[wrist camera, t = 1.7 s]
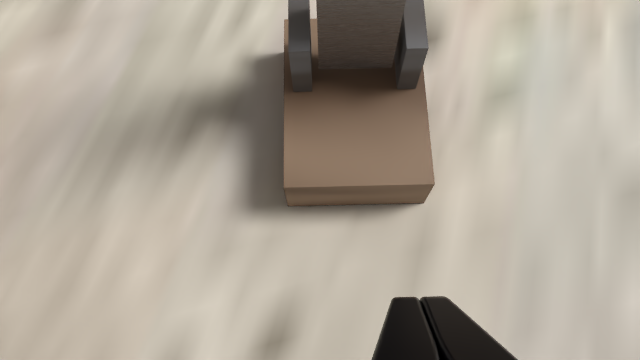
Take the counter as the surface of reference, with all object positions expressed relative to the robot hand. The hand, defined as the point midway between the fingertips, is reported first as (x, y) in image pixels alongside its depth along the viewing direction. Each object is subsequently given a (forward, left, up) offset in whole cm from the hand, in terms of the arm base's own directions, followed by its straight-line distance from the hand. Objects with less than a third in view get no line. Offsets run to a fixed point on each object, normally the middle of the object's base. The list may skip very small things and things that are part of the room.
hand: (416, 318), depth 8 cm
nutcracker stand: (+9, -4, -14) cm, 17 cm away
